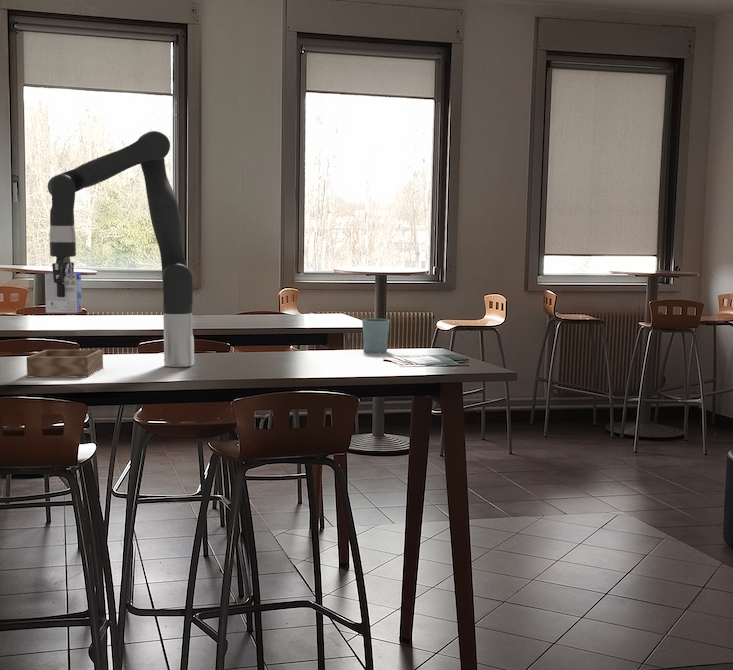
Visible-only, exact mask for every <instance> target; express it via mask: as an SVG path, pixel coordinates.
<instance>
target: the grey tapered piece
mask: <svg viewBox="0 0 733 670" xmlns="http://www.w3.org/2000/svg"><path fill="white" fill-rule="evenodd" d="M361 322H362V339H363V340H362V341H363V342H362V344H363V353H365V354H385V353H388V341H389V333H390V332H389V331H390V324H391V323H390V322H391V321H390V319H387V318H380V317H379V318H373V317H371V318H368V317H367V318H363V319H362V321H361Z"/></svg>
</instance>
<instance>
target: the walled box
mask: <svg viewBox="0 0 733 670" xmlns="http://www.w3.org/2000/svg"><path fill="white" fill-rule="evenodd" d="M103 352H104V351H103V349H44V350H42V351H39V352H37V353H34V354H31V355H29V356H27V357H26V377H27V376H89V375H91V374H93V373H94V372H96V371H98V370H99V371H101V370H102V368H103V369H104V358H103V357H104V355H103V354H104V353H103ZM100 369H101V370H100ZM99 371H98V372H99ZM96 373H97V372H96ZM94 374H95V373H94ZM94 374H93V375H94ZM91 376H92V375H91ZM89 377H90V376H89Z"/></svg>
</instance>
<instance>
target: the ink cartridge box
mask: <svg viewBox="0 0 733 670" xmlns="http://www.w3.org/2000/svg"><path fill="white" fill-rule="evenodd" d="M62 274H64V273H62ZM59 279H60V277H59ZM44 289H45V290H44V292H45V293H44V294H45V295H44V296H45V314H52V313H53V314H54V313H56V314H59V313H60V314H61V313H63V314H65V313H66V314H78V313H82V312H83V302H82V301H83V299H82V274H81V272H74V273H70V267H69V269H68V273H67V277H66V278H65V297H58V296H57V285H56V283H54V278H53V272H47V273H44Z"/></svg>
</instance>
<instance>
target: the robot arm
mask: <svg viewBox="0 0 733 670" xmlns="http://www.w3.org/2000/svg"><path fill="white" fill-rule="evenodd" d="M170 150H171V142H170V140H169V137H168V136H167V135H166V134H165V133H163V132H161V131H157V130H152V131H148V132H146V133H144V134H142V135H141V136H140V137H139V138H138V139H137V140H136V141H135V142H133V143H132V144H129V145H127V146H125V147H123V148H120V149H118V150H116V151H113V152H110V153H107V154H104V155H102V156H99V157H97V158H94V159H92V160H90V161H87V162H85V163H83V164H81V165H79V166H77V167H75V168H73V169H70V170H67V171H64V172H62V173H59V174H57V175H53V176H52V177H51V178H50V179H49V180H48V182H47V191H48V193H49V194H50V196H51V207H50V209H49V255H50V257H54V258H55V257H56V258H55V263H52V273H53V278H54V283H56V285H57V296H58V297H65V278H66V277H67V273H68V269H69V267H70V273H75V269H74V268H75V267H74V266H75V263H74V262H71V258H72V257H76V256H77V249H76V247H77V242H76V241H77V240H76V236H77V235H76V230H75V229H76V228H75V212H74V211H75V201H76V193H77V192H78V191H81V190H83V189H86V188H90V187H93V186H95V185H98V184H100V183H103V182H104V181H107V180H108V179H111V178H113V177H114V176H117V175H119V174H120V173H122V172H124V171H126V170H129V169H130V168H132V167H133V168H134V167H136V166H139V165H140V168H141V170H142V173H143V178H144V184H145V190H146V198H147V205H148V210H149V216H150V221H151V226H152V229H153V232H154V236H155V239H156V243H157V245H158V248H159V253H160V263H161V278H162V286H163V287H162V289H163V290H162V294H163V296H162V297H163V302H162V303H163V304H162V307H163V311H162V312H163V313H162V316H163V358H164V359H163V363H164V365H163V366H164V367H169V368H183V367H184V368H185V367H193V366H194V365H195V337H194V335H193V332H194V331H193V306H194V305H193V303H194V300H193V299H194V297H193V293H194V291H193V288H194V287H193V284H194V283H193V274H192V271H191V269H190V268H189V267H188V264H187V261H186V257H185V254H184V250H183V240H182V239H183V237H182V236H183V235H182V234H183V233H182V232H183V231H182V222H181V221H182V220H181V214H180V210H179V205H178V204H179V203H178V200H177V196H176V195H175V192H174V190H173V188H172V185H171V183H170V181H169V179H168V174H167V170H166V163H165V162H166V161H165V158H166V157H167V156H168V154H169V153H170ZM62 273H64V274H62ZM59 277H60V279H59Z"/></svg>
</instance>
